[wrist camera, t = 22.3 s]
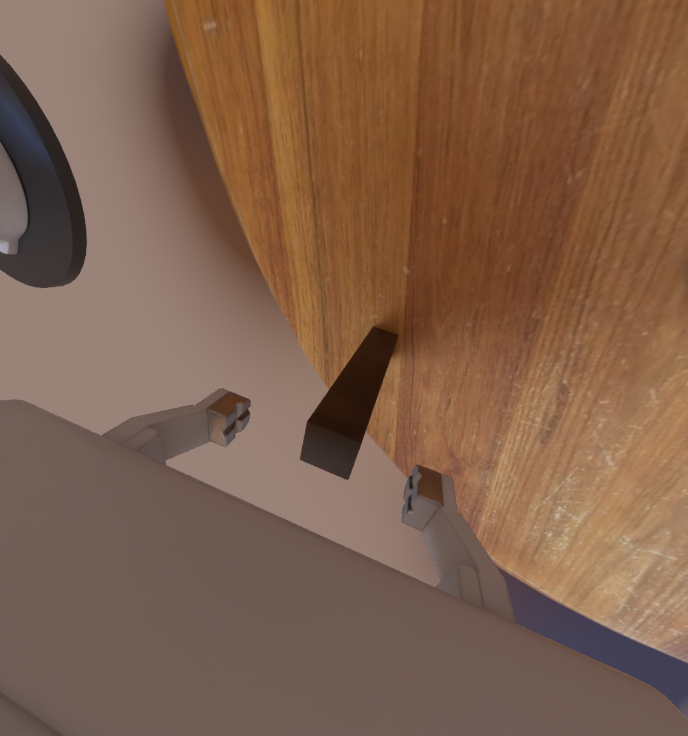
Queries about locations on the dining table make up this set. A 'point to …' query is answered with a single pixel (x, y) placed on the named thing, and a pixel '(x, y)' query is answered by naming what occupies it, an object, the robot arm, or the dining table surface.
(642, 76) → the dining table surface
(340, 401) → the stick
